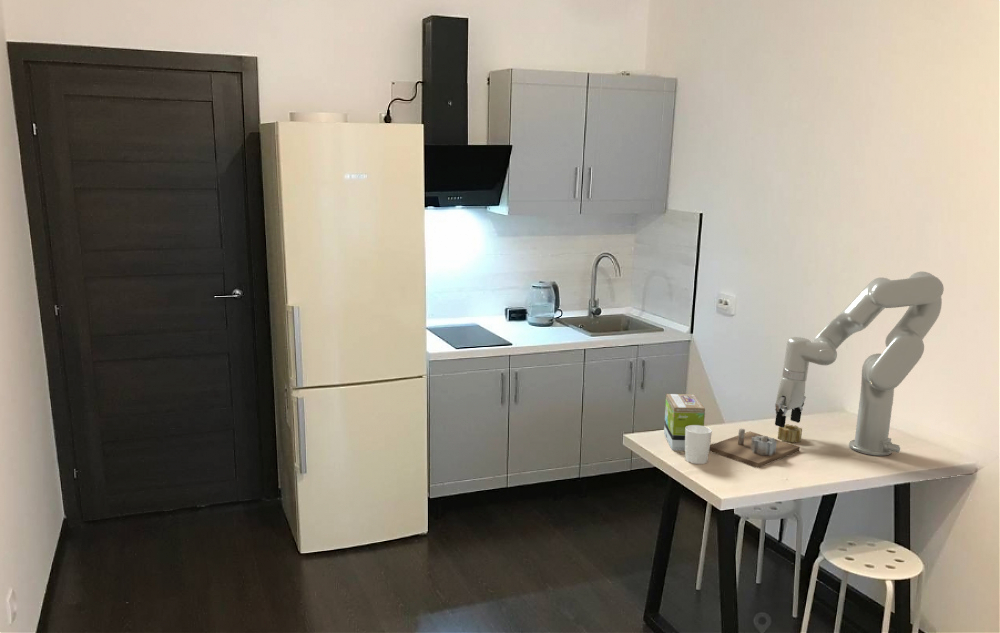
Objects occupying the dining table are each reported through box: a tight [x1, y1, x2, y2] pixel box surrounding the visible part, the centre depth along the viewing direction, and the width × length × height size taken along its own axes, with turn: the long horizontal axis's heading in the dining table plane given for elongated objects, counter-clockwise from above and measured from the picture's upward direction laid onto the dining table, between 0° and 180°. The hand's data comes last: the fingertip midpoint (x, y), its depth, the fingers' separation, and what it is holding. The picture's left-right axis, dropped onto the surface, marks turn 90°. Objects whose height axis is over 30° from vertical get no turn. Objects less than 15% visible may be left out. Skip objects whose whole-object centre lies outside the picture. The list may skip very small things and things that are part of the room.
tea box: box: [663, 393, 706, 452], centre depth 245 cm, size 15×10×15 cm, turn 178°
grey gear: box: [751, 435, 777, 456], centre depth 236 cm, size 7×7×4 cm
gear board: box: [709, 428, 800, 469], centre depth 240 cm, size 18×24×6 cm
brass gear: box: [777, 423, 803, 444], centre depth 253 cm, size 7×7×4 cm
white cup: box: [684, 425, 713, 465], centre depth 231 cm, size 8×8×10 cm
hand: (787, 423), depth 252 cm, fingers open, 9 cm apart
